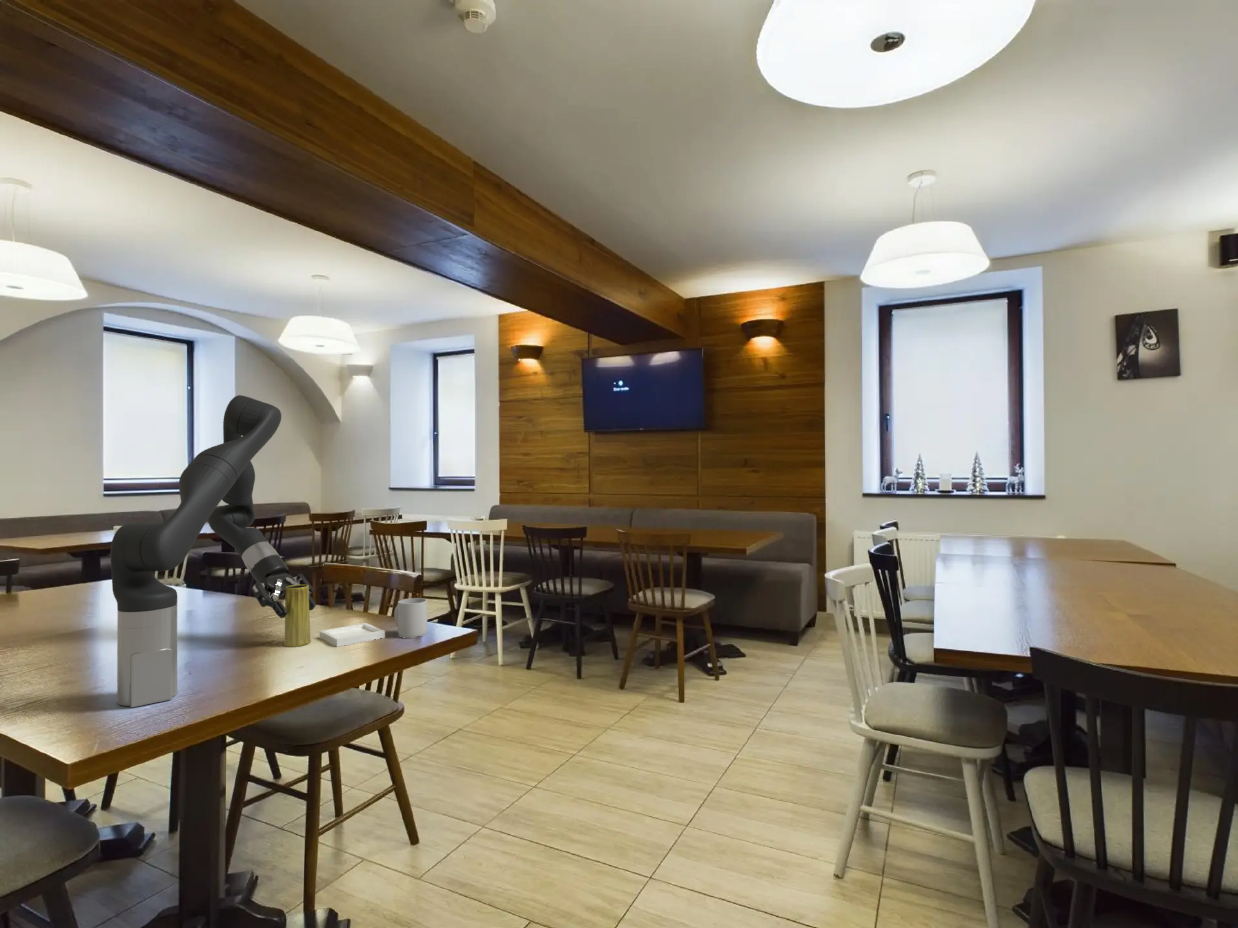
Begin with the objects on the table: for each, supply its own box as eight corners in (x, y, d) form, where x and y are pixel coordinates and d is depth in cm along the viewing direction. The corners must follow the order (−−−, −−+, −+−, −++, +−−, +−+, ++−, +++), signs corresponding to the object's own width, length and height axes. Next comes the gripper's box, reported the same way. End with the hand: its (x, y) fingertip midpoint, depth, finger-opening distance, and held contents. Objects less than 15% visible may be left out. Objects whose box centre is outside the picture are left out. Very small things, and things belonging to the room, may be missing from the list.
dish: (385, 637, 166) (385, 630, 166) (337, 646, 157) (337, 639, 157) (366, 629, 174) (366, 622, 174) (319, 637, 166) (319, 630, 166)
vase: (286, 648, 156) (286, 589, 156) (280, 643, 161) (280, 586, 161) (313, 644, 160) (313, 586, 160) (307, 639, 165) (307, 583, 165)
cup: (412, 640, 164) (411, 604, 164) (384, 635, 168) (384, 600, 168) (433, 633, 170) (433, 599, 170) (406, 629, 175) (406, 596, 175)
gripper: (280, 569, 173) (314, 615, 168) (231, 578, 159) (266, 628, 155) (295, 550, 171) (329, 596, 166) (247, 557, 157) (282, 607, 153)
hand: (299, 611), depth 161 cm, fingers open, 8 cm apart
